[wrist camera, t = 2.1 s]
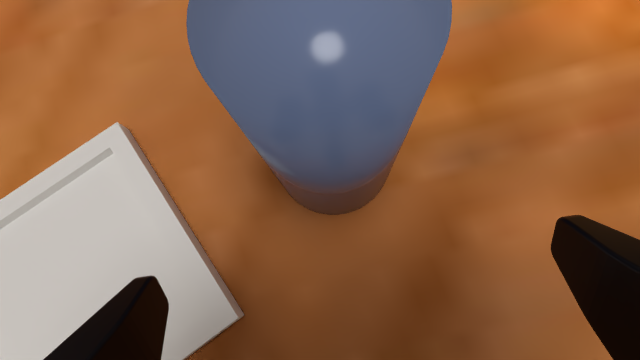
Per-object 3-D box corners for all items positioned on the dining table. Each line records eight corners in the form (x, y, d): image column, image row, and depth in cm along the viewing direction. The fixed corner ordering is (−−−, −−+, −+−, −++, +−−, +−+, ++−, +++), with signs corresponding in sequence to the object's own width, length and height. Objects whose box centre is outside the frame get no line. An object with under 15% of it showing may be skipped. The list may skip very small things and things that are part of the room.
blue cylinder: (330, 239, 21) (307, 191, 8) (255, 157, 22) (136, 9, 10) (413, 160, 22) (510, 5, 9) (335, 86, 23) (323, -139, 10)
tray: (244, 315, 20) (238, 317, 19) (28, 474, 19) (7, 488, 18) (128, 129, 23) (117, 122, 22) (-65, 258, 22) (-87, 257, 21)
